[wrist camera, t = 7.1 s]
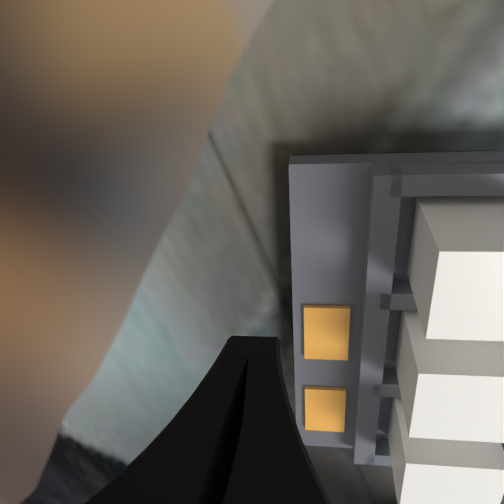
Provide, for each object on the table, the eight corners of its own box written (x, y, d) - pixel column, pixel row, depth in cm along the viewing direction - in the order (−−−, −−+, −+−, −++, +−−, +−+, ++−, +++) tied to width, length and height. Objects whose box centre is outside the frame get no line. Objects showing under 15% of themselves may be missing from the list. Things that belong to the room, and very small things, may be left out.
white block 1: (512, 274, 19) (554, 342, 15) (407, 273, 19) (425, 338, 16) (532, 195, 17) (585, 252, 13) (416, 196, 17) (439, 251, 14)
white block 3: (469, 440, 24) (494, 519, 20) (387, 435, 24) (398, 511, 21) (481, 392, 22) (511, 470, 19) (393, 388, 22) (406, 463, 19)
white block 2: (486, 367, 21) (518, 443, 18) (395, 363, 22) (408, 437, 18) (502, 306, 19) (541, 378, 16) (402, 304, 20) (418, 373, 17)
